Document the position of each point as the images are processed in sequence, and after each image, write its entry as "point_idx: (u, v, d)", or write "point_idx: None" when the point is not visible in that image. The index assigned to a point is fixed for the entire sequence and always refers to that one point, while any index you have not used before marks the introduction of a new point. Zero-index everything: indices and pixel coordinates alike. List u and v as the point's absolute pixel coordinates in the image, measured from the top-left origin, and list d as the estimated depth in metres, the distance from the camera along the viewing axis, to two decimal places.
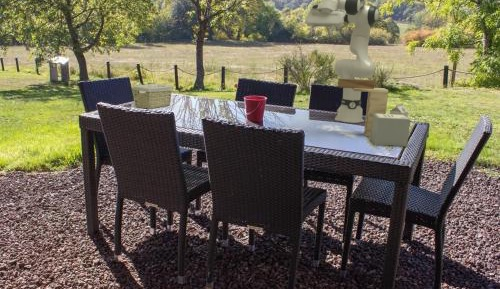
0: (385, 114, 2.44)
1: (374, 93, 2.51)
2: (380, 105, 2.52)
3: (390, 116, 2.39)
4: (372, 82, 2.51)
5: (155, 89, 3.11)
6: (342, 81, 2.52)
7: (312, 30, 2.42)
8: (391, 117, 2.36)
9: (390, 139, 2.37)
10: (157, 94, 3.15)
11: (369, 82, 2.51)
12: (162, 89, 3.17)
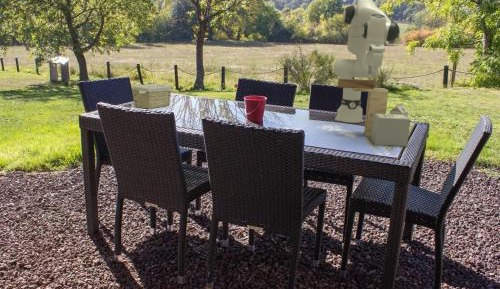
0: (385, 114, 2.44)
1: (374, 93, 2.51)
2: (380, 105, 2.52)
3: (390, 116, 2.39)
4: (372, 82, 2.51)
5: (155, 89, 3.11)
6: (342, 81, 2.52)
7: None
8: (391, 117, 2.36)
9: (390, 139, 2.37)
10: (157, 94, 3.15)
11: (369, 82, 2.51)
12: (162, 89, 3.17)
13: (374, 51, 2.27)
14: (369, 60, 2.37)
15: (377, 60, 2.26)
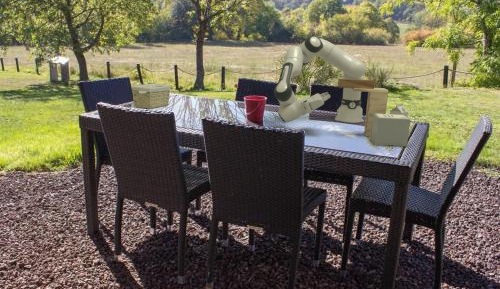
0: (385, 114, 2.44)
1: (374, 93, 2.51)
2: (380, 105, 2.52)
3: (390, 116, 2.39)
4: (372, 82, 2.51)
5: (155, 89, 3.12)
6: (342, 81, 2.52)
7: (327, 94, 2.51)
8: (391, 117, 2.36)
9: (390, 139, 2.37)
10: (157, 94, 3.15)
11: (369, 82, 2.51)
12: (161, 89, 3.18)
13: (311, 109, 2.50)
14: None
15: (317, 104, 2.48)
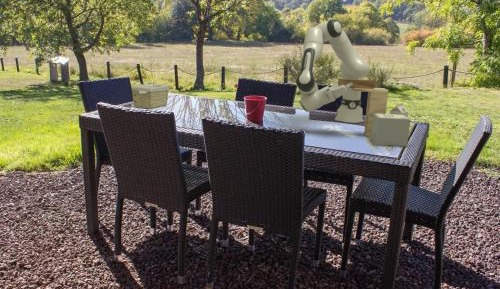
0: (385, 114, 2.44)
1: (374, 93, 2.51)
2: (380, 105, 2.52)
3: (390, 116, 2.39)
4: (372, 82, 2.51)
5: (156, 89, 3.12)
6: (342, 81, 2.52)
7: (350, 82, 2.51)
8: (391, 117, 2.36)
9: (390, 139, 2.37)
10: (157, 94, 3.16)
11: (369, 82, 2.51)
12: (161, 89, 3.18)
13: (334, 98, 2.48)
14: None
15: (340, 92, 2.46)
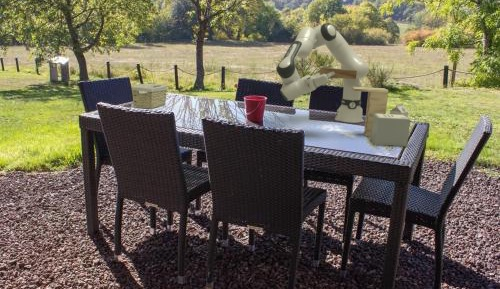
0: (385, 114, 2.44)
1: (374, 93, 2.51)
2: (380, 105, 2.52)
3: (390, 116, 2.39)
4: (354, 72, 2.45)
5: (156, 89, 3.13)
6: (323, 70, 2.46)
7: None
8: (391, 117, 2.36)
9: (390, 139, 2.37)
10: (157, 94, 3.17)
11: (351, 72, 2.45)
12: (161, 88, 3.19)
13: (315, 86, 2.42)
14: None
15: (321, 81, 2.39)
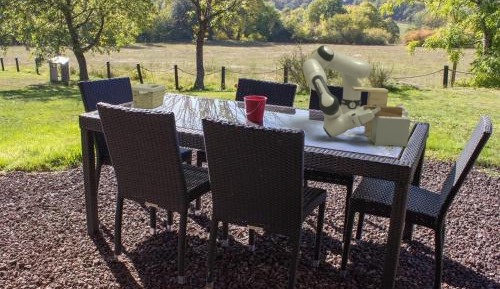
0: None
1: (374, 93, 2.51)
2: (380, 105, 2.52)
3: None
4: (400, 109, 2.37)
5: (157, 89, 3.13)
6: None
7: (377, 107, 2.35)
8: (391, 117, 2.36)
9: (390, 139, 2.37)
10: None
11: (397, 109, 2.37)
12: (160, 88, 3.20)
13: (360, 123, 2.33)
14: None
15: (367, 117, 2.31)
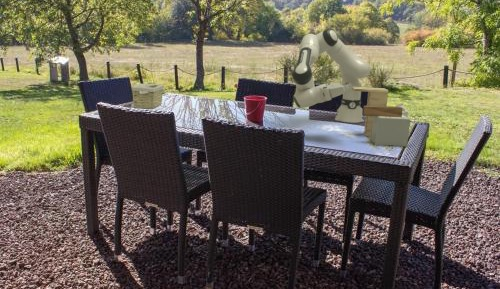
0: None
1: (374, 93, 2.51)
2: (380, 105, 2.52)
3: (390, 116, 2.39)
4: (400, 109, 2.37)
5: (157, 88, 3.14)
6: (367, 109, 2.38)
7: (349, 84, 2.35)
8: (391, 117, 2.36)
9: (390, 139, 2.37)
10: None
11: (397, 109, 2.37)
12: (159, 88, 3.21)
13: (330, 97, 2.33)
14: None
15: (338, 92, 2.31)
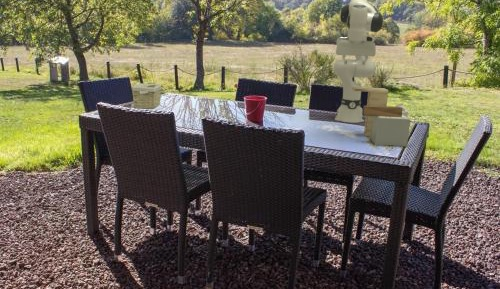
0: None
1: (374, 93, 2.51)
2: (380, 105, 2.52)
3: (390, 116, 2.39)
4: (400, 109, 2.37)
5: (157, 88, 3.14)
6: (367, 109, 2.38)
7: None
8: (391, 117, 2.36)
9: (390, 139, 2.37)
10: (156, 93, 3.18)
11: (397, 109, 2.37)
12: (159, 88, 3.21)
13: (373, 41, 2.38)
14: (354, 50, 2.40)
15: None
